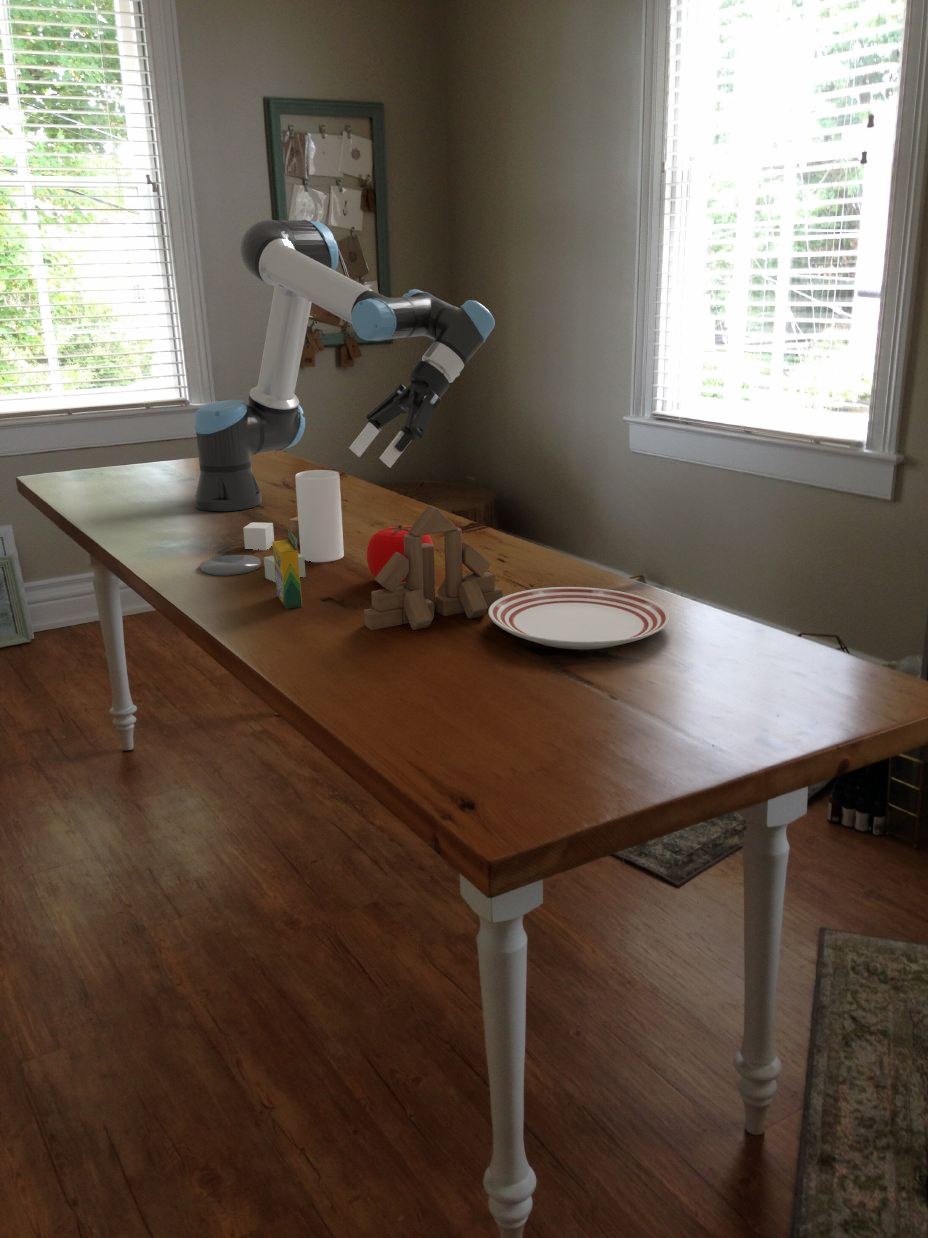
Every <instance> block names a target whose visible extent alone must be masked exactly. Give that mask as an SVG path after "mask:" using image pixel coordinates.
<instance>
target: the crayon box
mask: <svg viewBox="0 0 928 1238" xmlns="http://www.w3.org/2000/svg"><path fill="white" fill-rule="evenodd" d="M287 536H288V537H287V539H283V540H274V541H273V542H272V544H273V546H272V552H273V553H272V554H273V555H274V565H275V576H276V583H275V587H276V595H277V597H278V599H279V600H280V602H281V603H282V604H283V606H284V607H285V609H286V610H288V609H296V608H302V607H303V598H302V587H301V578H300V574H299V561H298V554H299V552H298V551H299V550H298V544H297V538H295V536H294V535H293V534H292V533H291V532H290V529H289V528H287ZM291 537H292V538H293V539H294V542H292V540H291Z"/></svg>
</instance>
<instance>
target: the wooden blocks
mask: <svg viewBox="0 0 928 1238" xmlns="http://www.w3.org/2000/svg"><path fill="white" fill-rule="evenodd" d="M411 526H412V527H411V528H410V530H409V531H408V533H410V534H406V535H405V536H404V555H405V556H403V555H402V554H400V553H398V552H395V553H394V555H393V556H392V557H391V558H390V560H389V561H388V562H387V564H386V565H385V566H384V567H383V569H382V570H381V571H380V573H379V574H378V575H377V576H376V578H375V577H374V580H375V581H376V582H377V583H378V584H379V585H380V586H382V588H383V589H377V590H372V591H371V594H370V595H371V596H370V597H371V608H367V609H364V610H363V619H364V620H363V621H364V622H363V623H364V627H366V628H367V629H369V630H370V631H375V630H380V629H386V628H390V627H395V626H400V625H403V624H404V625H405V624H409V625H410V627H411V630H413V631H414V630H415V631H416V630H419V629H424V628H425V629H426V628H429V626H430V625H431V623H432V622H433V620H434V618H435V611H436V613H437V614H439V615H441V616H443V617H447V616H452V615H456V614H463V613H465V615H466V617H467V619H469V620H470V619H475V618H480V617H484V615H485V614H486V612H488V611H489V608H490V606H491V605H492V604H493V603H494V602H495V601H497V600H498V599H500V598H502V597H503V589H501V588H499V587H497V586H496V576H495V574H494V573H491V572H489V571H487V570H488V569H489V568H490V566H491V565H492V564H491V562H490V561H489V560H488V559H486V558H485V557H484V556H483V555H482V554H481V553H480V552H479V551H478V550H477V549H476V548H475V547H474V546H472V544H470V543H468V542H465V541H463V531H462V528H461V527H458V526H456V525H455V524H454V523H453V522H452V521H451V520H450V519H449V518H448V517H447V516H445V514H444V513H442V511H440V510H439V509H438V508H437V507H435V506H433V505H432V506H431V505H428V506H427V507H426V508H425V509H424V510H423V512H422V513H421V514H420V516H419V517H418V518H417V519H416V521H415V522H414V523H413V524H412V525H411ZM441 533H443V535H444V536H443V538H444V571H445V573H444V574H445V576H444V577H445V578H444V580H443V581H442V583H440V586H439V588H438V589H437V594H438V596H436V568H435V567H436V565H435V563H436V561H435V559H436V558H435V552H434V551H435V545H434V543H433V544H429V543H423V544H422V535H428V534H429V535H433V534H441ZM463 566H464V567H466V568H467V570H469V571H470V572H471V573H469V574H468V573H467V574H463V572H464V571H463ZM404 578H405V582H403V583H401V582H402V581H403V579H404Z"/></svg>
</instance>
